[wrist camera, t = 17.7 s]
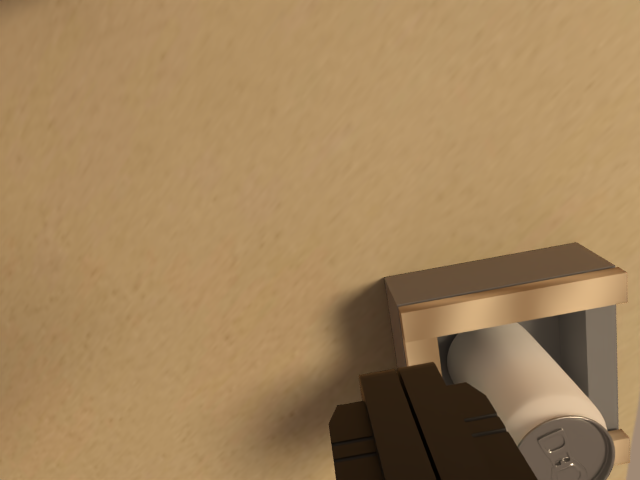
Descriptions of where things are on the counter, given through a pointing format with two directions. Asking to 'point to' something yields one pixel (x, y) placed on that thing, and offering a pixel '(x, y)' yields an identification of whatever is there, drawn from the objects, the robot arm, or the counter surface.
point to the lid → (511, 316)
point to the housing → (550, 332)
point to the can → (534, 402)
